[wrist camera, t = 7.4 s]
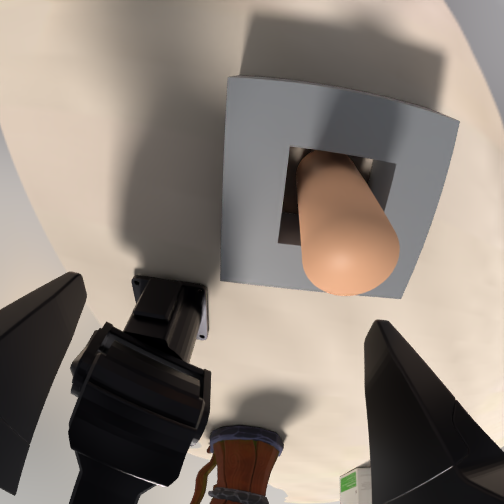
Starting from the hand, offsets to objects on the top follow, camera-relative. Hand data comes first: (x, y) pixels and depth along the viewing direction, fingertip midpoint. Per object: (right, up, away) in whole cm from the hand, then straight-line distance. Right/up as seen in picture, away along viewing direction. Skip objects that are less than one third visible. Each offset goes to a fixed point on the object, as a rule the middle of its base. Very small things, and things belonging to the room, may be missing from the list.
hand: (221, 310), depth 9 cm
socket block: (+6, +6, +11) cm, 14 cm away
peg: (+6, +6, +11) cm, 14 cm away
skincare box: (+24, -46, +43) cm, 68 cm away
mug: (-2, -28, +35) cm, 45 cm away
